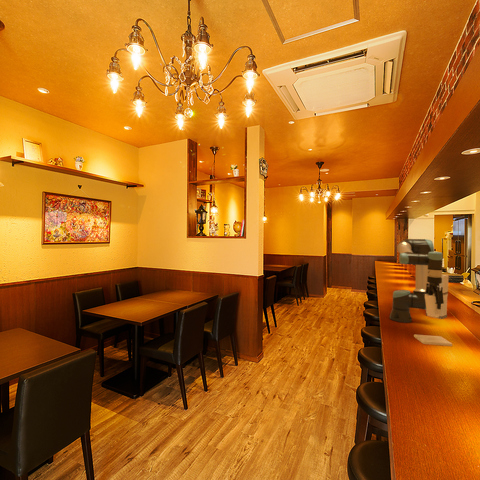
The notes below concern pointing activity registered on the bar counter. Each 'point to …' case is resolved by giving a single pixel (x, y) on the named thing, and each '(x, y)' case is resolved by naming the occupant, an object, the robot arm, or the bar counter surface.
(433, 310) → the foam cup
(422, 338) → the tile
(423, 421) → the bar counter surface
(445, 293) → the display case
